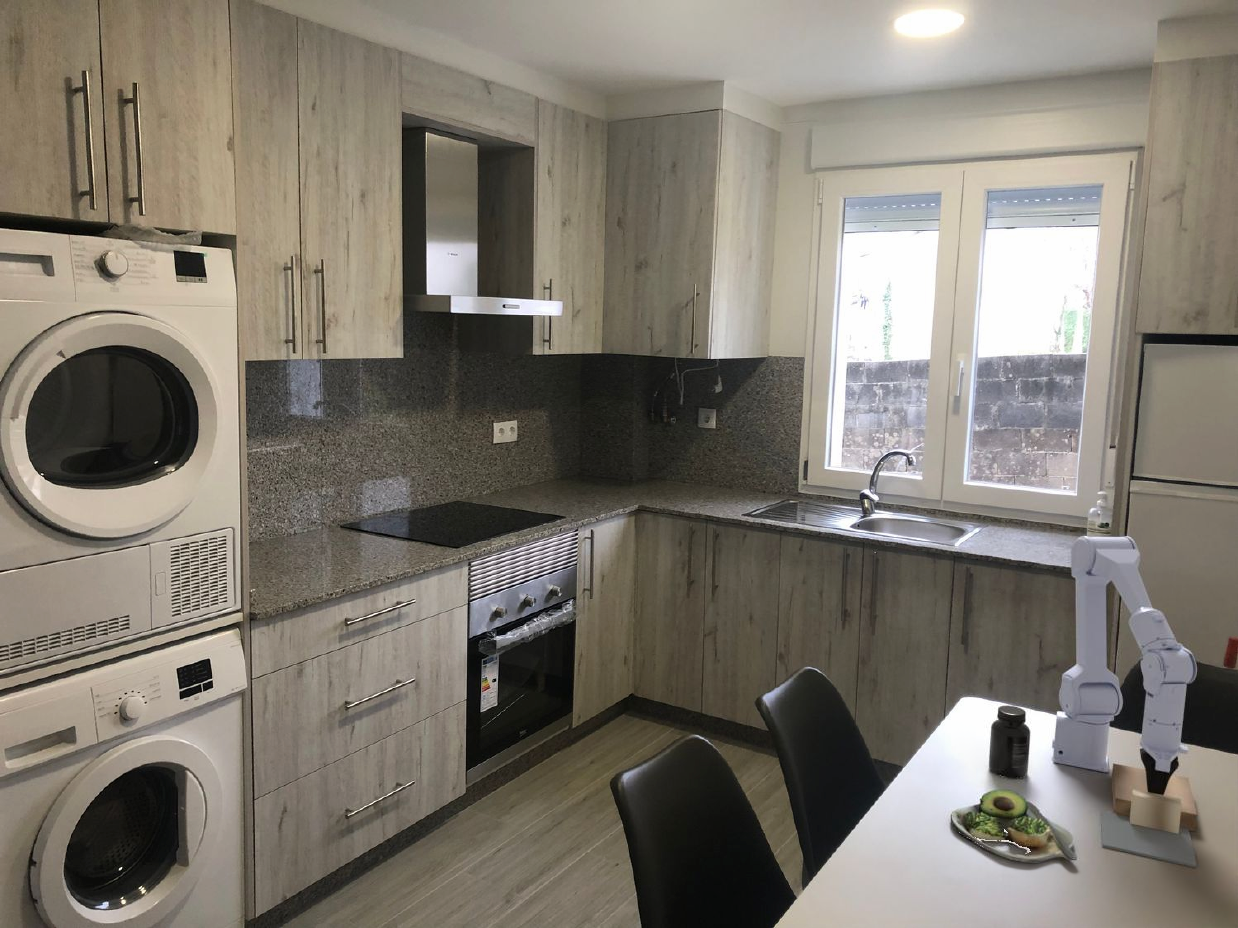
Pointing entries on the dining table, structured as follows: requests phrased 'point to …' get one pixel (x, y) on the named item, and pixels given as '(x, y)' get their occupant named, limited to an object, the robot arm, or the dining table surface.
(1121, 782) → the block
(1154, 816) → the ash block
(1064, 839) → the salad plate
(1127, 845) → the rubber mat
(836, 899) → the dining table surface
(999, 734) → the supplement bottle
